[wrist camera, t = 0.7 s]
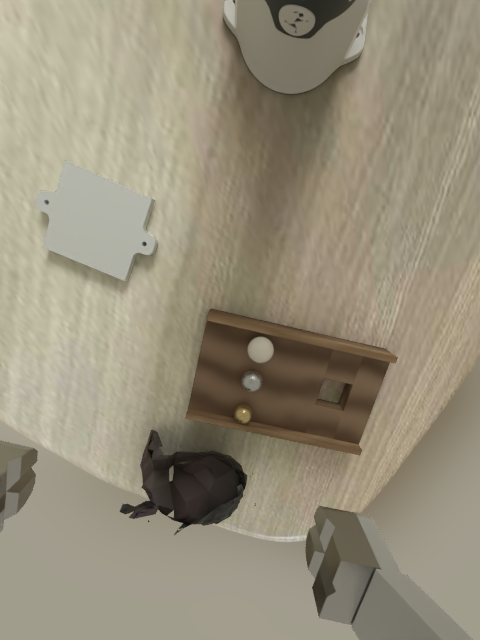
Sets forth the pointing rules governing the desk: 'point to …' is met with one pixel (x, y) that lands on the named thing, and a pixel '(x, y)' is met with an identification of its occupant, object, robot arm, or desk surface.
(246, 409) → the brass ball
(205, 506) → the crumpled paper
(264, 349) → the cream ball
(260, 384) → the steel ball
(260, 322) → the board
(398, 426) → the desk surface
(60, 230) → the mounting plate
